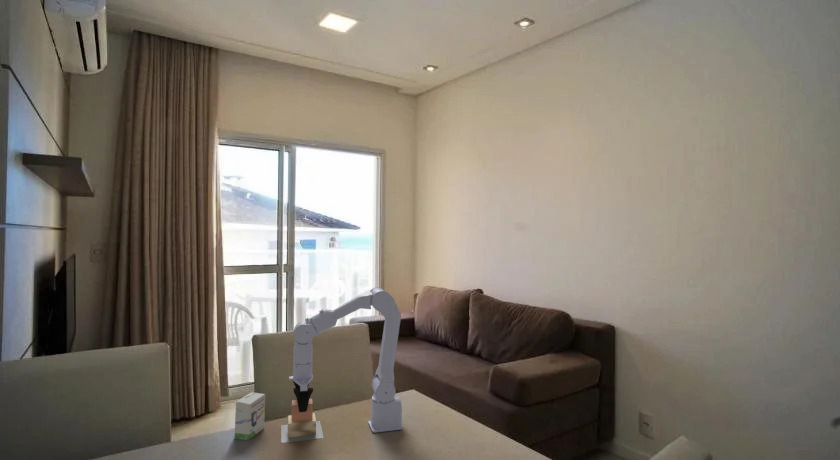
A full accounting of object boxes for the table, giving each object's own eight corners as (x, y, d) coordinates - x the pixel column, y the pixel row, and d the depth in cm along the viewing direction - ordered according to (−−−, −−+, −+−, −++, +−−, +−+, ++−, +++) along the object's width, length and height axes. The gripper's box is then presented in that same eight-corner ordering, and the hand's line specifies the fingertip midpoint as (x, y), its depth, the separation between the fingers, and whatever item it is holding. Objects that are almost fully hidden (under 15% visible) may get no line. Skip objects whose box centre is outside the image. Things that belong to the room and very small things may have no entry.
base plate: (319, 424, 144) (320, 420, 144) (323, 441, 132) (323, 437, 132) (280, 428, 140) (281, 425, 140) (281, 446, 128) (281, 443, 128)
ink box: (250, 429, 139) (250, 391, 139) (265, 431, 138) (265, 392, 138) (233, 442, 131) (234, 401, 131) (249, 444, 130) (250, 403, 130)
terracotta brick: (311, 414, 139) (311, 398, 139) (312, 419, 135) (312, 403, 135) (291, 416, 137) (291, 400, 137) (291, 422, 133) (292, 405, 133)
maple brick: (314, 425, 140) (314, 412, 140) (315, 434, 134) (316, 420, 134) (287, 428, 138) (288, 415, 138) (288, 437, 132) (288, 423, 132)
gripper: (288, 356, 142) (288, 398, 142) (289, 370, 128) (289, 417, 128) (311, 354, 144) (310, 396, 144) (315, 368, 130) (314, 415, 130)
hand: (302, 406), depth 136 cm, fingers open, 7 cm apart
